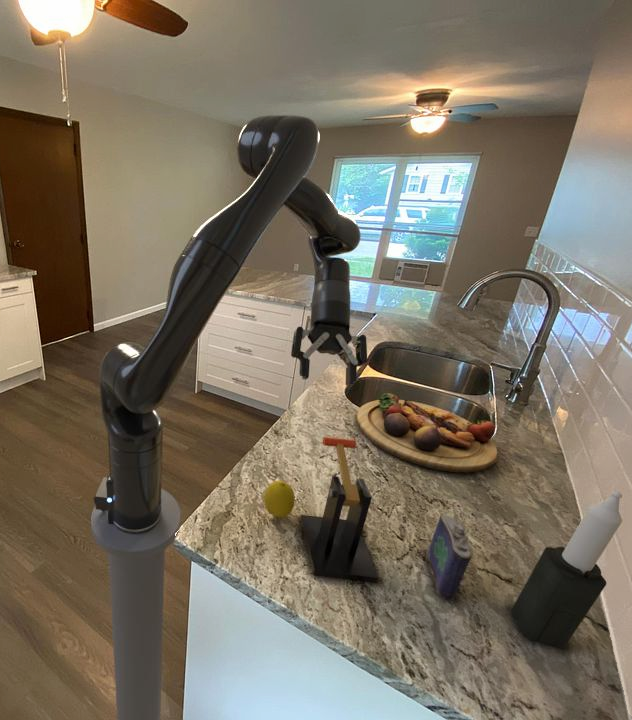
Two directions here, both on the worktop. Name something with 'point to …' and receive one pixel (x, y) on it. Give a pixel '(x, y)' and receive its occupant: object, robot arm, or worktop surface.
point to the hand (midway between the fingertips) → (327, 381)
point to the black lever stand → (340, 537)
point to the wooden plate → (427, 435)
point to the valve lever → (344, 469)
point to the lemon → (279, 499)
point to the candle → (567, 579)
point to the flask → (448, 556)
